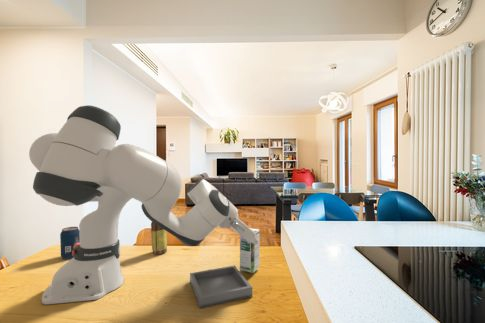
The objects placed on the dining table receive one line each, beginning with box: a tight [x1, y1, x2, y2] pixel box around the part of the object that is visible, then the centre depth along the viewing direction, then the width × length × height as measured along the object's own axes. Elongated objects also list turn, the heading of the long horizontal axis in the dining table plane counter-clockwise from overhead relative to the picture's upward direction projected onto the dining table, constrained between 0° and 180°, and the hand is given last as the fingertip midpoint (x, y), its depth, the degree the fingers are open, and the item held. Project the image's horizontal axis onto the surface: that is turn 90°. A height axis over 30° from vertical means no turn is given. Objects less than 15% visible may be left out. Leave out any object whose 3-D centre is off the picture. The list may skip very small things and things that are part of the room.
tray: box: [189, 265, 253, 309], centre depth 83 cm, size 16×16×3 cm
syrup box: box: [239, 227, 261, 274], centre depth 95 cm, size 6×6×14 cm
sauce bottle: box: [150, 221, 168, 255], centre depth 113 cm, size 7×6×20 cm
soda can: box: [59, 226, 80, 260], centre depth 109 cm, size 7×7×12 cm
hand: (251, 239), depth 96 cm, fingers closed on syrup box, 8 cm apart
